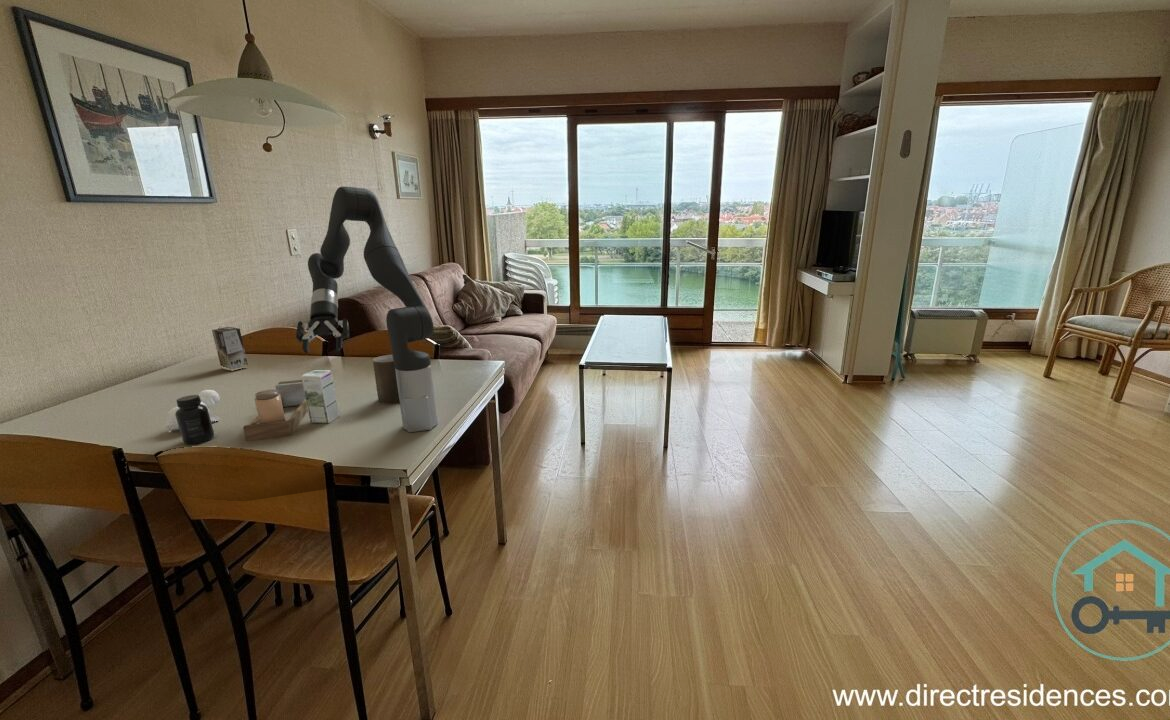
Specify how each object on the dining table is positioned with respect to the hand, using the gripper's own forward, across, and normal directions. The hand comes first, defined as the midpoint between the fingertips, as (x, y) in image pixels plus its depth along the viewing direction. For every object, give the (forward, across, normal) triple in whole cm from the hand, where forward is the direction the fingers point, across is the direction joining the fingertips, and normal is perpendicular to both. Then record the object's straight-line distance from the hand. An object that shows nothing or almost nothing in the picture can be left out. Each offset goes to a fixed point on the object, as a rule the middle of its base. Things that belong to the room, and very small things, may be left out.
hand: (322, 350), depth 147 cm
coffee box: (-30, -47, +55) cm, 78 cm away
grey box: (+7, -12, +18) cm, 23 cm away
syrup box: (+20, 0, +6) cm, 21 cm away
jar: (+23, -12, +3) cm, 26 cm away
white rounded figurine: (+14, -35, +12) cm, 40 cm away
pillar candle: (+12, +18, +14) cm, 26 cm away
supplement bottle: (+23, -30, +3) cm, 38 cm away
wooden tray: (+15, -12, +11) cm, 22 cm away
